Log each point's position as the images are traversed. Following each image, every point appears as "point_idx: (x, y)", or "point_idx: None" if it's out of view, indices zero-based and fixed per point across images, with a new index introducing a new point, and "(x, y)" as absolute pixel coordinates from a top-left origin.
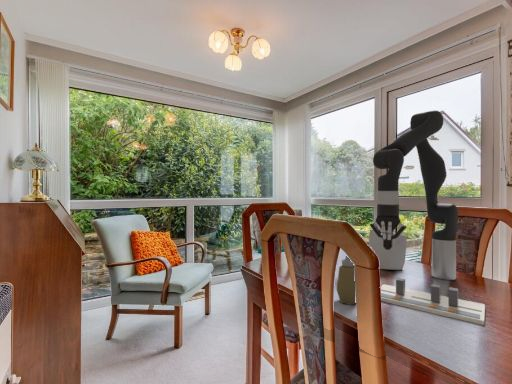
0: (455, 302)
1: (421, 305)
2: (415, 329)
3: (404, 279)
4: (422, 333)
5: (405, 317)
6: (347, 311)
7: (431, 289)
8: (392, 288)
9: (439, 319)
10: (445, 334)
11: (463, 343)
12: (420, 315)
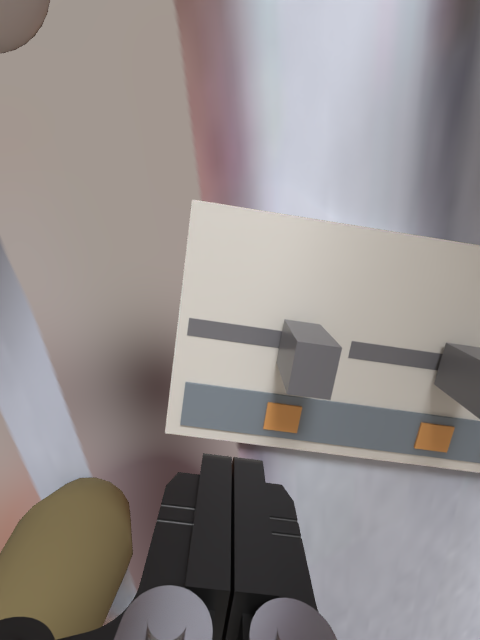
0: None
1: (385, 450)
2: (347, 613)
3: (337, 359)
4: (365, 627)
5: (318, 544)
6: (121, 595)
7: (471, 412)
8: (250, 262)
9: (432, 502)
10: (429, 602)
11: (467, 629)
12: (370, 501)
